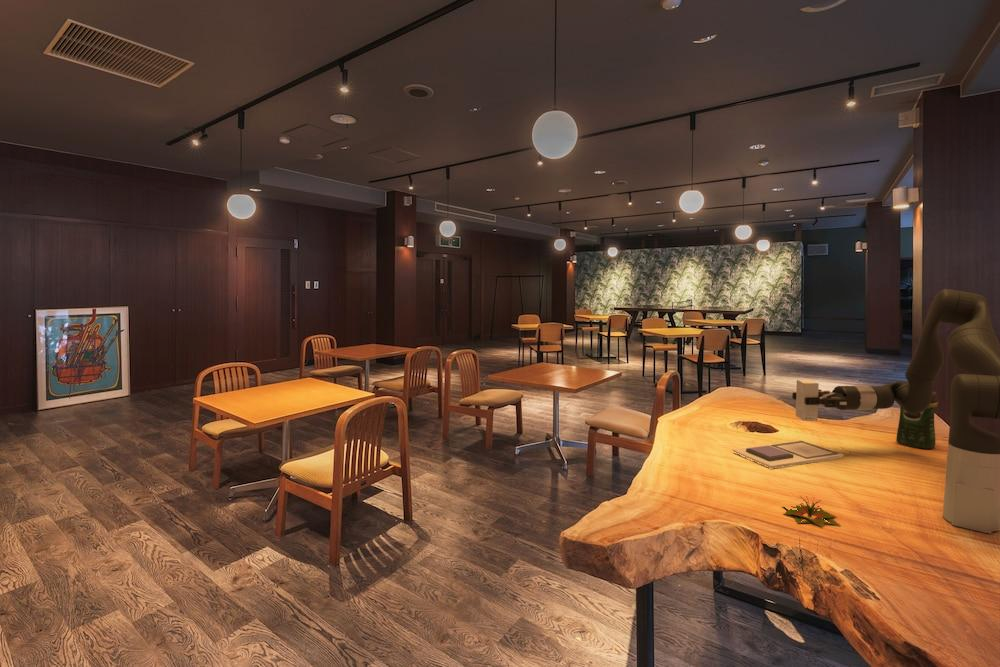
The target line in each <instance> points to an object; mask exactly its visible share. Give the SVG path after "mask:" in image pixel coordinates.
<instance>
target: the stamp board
mask: <svg viewBox="0 0 1000 667" xmlns="http://www.w3.org/2000/svg"><path fill="white" fill-rule="evenodd" d="M732 451H734V452H736V453H739V454H741V455H743V456H745V457H747V458H750V459H752V460H754V461H756V462H759V463H761V464H763V465H766V466H768V467H770V468H775V467H782V466H789V467H791V466H790V465H796V466H798V465H797V464H802V465H807V464H806V463H808V464H814V463H813V462H815V463H820V462H827V461H833V460H841V459H844V454H842V453H839V452H836V451H834V450H830V449H827V448H824V447H821V446H818V445H815V444H812V443H809V442H806V441H803V440H794V441H787V442H778V443H772V444H763V445H756V446H750V447H742V448H736V449H732V450H731V452H732Z"/></svg>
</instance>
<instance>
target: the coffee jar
mask: <svg viewBox="0 0 1000 667" xmlns="http://www.w3.org/2000/svg"><path fill="white" fill-rule="evenodd" d="M938 405H939V399H938V394H937V391H933V394H932V400H931V403H930V405H929V406H928V408H927V409H926V410H924V411H923V412H921V413H917V414H912V413H909V412H907V411H905V410H904V409H903V408H902V407H901V406H900V405H899V406H900V409H899V410H900V411H899V420H898V425H897V430H896V436H895V437H896V438H895V440H896V442H897V443H899V444H901V445H903V446H907V447H912V448H917V449H933V448H934V447H936V430H935V429H936V427H935V413H936V412H935V411H936V409H937V407H938Z"/></svg>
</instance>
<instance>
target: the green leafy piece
mask: <svg viewBox="0 0 1000 667" xmlns="http://www.w3.org/2000/svg"><path fill="white" fill-rule="evenodd" d="M800 498H801V499H802V500H803V501H804V502H805V503H806V505H805V504H804V503H803V501H802V502H800V503H799V504H798V505H801V507H800V506H798V505H797V504H796V505H795V506H791V505H790V506H791V507H793V508H797V510H798V511H797V510H792V509H790V510H788V509H786V510H787V511H786V512H784V514H785V515H784V516H786V515H794V516H795V517H794V519H795V521H796V523H797V524H804V523H805V524H806V523H814V524H815V525H818V527H820V528H822V529H823V528H824V525H825V524H831V525H834V526H839V527H841V526H842V525H841V524H840V523H839V522H837V521H836V520H834V519H831V517H834V518H837V516H835V515H834V514H832V513H830V512H829V511H825V510H824V509H823V508H822V507H820V505H818V506H815V505H817V504H818V503H819V502H822V500H821V499H820V500H818V501H817V502H813V501H814V500H815V498H816V497H815V496H814V498H813V499H812V500H813V501H811V505H810V501H809V499H808V496H807V495H806V496H805V498H806V499H807V500H806V499H804V498H803V496H800ZM818 509H820V511H817V510H818ZM814 510H815V511H814ZM806 514H807V516H808V517H807V516H804V515H806ZM812 516H815V518H811V519H810V517H812ZM801 518H805V519H807V520H808V521H807V520H803V519H802V520H803V521H802V520H801ZM822 518H823V519H822ZM824 519H825V520H827V521H828V522H830V523H828V522H826V521H825V520H824ZM801 521H802V522H801Z"/></svg>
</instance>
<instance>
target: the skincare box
mask: <svg viewBox="0 0 1000 667" xmlns="http://www.w3.org/2000/svg"><path fill="white" fill-rule="evenodd" d="M819 385H820V384H819V382H816V381H814V380H812V379H796V386H795V388H796V391H795V392H796V400H795V417H796V418H798V419H800V420H801V421H803V422H804V421H805V422H818V418H819V416H818V412H819V404H818V405H806V404H805V398H806V397H818V390H819Z"/></svg>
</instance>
